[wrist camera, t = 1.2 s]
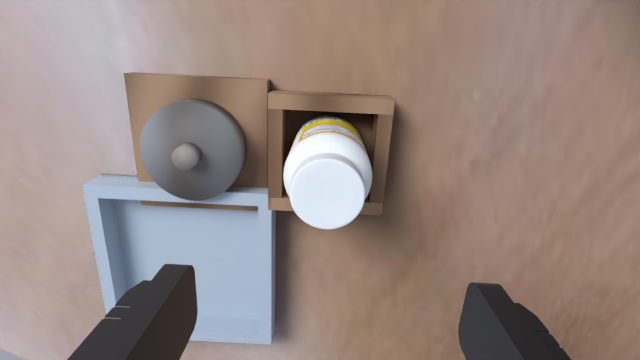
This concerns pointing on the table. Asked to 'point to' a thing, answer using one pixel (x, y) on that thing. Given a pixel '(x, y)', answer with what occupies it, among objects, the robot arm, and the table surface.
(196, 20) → the table surface
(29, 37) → the table surface
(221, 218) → the tray
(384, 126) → the block
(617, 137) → the table surface
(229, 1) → the table surface
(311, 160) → the supplement bottle
